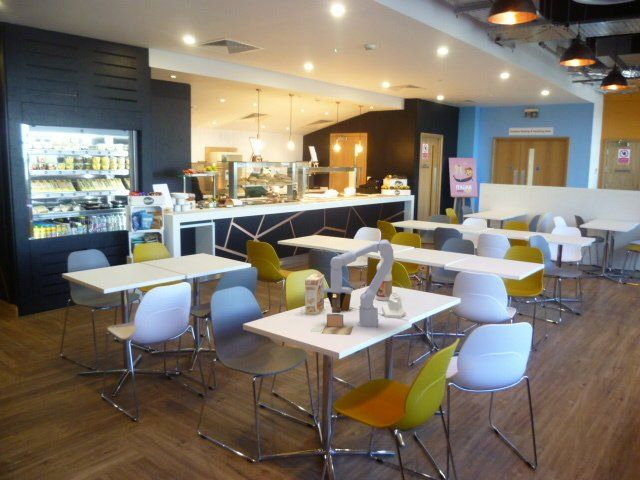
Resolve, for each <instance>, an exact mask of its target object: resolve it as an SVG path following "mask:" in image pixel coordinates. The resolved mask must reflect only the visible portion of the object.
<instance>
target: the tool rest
mask: <svg viewBox="0 0 640 480" xmlns="http://www.w3.org/2000/svg"><path fill="white" fill-rule="evenodd" d="M322 331H323V328H312V329H311V330H310V332H311V333H322Z"/></svg>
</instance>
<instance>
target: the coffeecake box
mask: <svg viewBox="0 0 640 480" xmlns="http://www.w3.org/2000/svg"><path fill="white" fill-rule="evenodd" d="M304 282H305V283H304V285H305V286H304V291H305V292H304V295H305V297H304V300H305V301H304V303H305V310H304V311H305V313H304V314H305V315H313V316H314V315H315V316H318V315H319V314H321V312H322V311H323V310H325V293H322V289H325V274H321V273H320V274H318V273H312V274H311V275H309V276H308V277H307V278H305V279H304Z"/></svg>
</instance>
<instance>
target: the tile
mask: <svg viewBox="0 0 640 480" xmlns="http://www.w3.org/2000/svg"><path fill="white" fill-rule="evenodd" d="M326 325H327V327H343V326H344V314H342V313H341V314H340V313H327V314H326Z"/></svg>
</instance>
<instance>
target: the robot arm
mask: <svg viewBox="0 0 640 480" xmlns="http://www.w3.org/2000/svg"><path fill="white" fill-rule="evenodd" d="M369 253H377V254H378V253H381V254H382V256H383V259H384V261H383V263H382V265H381V266H380V268H379V270H378V272H377V271H376V274H375V275H374V277H373V279H372V281H371V283H370V285H368V287H367V288H366V289H365V291H364V292H363V293H361V295H360V298H359V299H360V303H359V304H360V305H359V307H358V308H359V310H358V313H359V314H358V316H359V318H358V324H357V327H369V328H370V327H372V328H374V327H375V328H378V324H379V309H378V307H375V306H374V300H375V298H376V293H377V291H378V289H379V288H380V286H381V284H382V282H383V281H384V279H385V277H386V275H387V274H388V272H389V270H390V268H391V267H392V268H393V265H394V263H395V258H394V249H393V246H392V244H391V242H390V241H389V240H388V239H381V240H377V241H374V242H372V243H369V244H367V245H366V246H364V247H362V248H359V249H357V250H356V251H355V250H353V249H352V250H349V249H348V250H346V252H344V253H342V254H337V256H334V257H332V258H331V260H330V264H329V265H330V287H329V288H324V289H322V293H324V294H326V297H327V299H328V301H329V304H330V308H331V309H332V298H333V297H334V294H336V293H341V294H340V308H342V304H343V300H344V297H345V295H346V294H351V295H352V293H351V290H352V288H351V289H342V287H343V271H342V267H343V266H347V265H349V264H352V263H355V262H356V261H357V259H358V258H360V257H362V256H365V255H367V254H369Z"/></svg>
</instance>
